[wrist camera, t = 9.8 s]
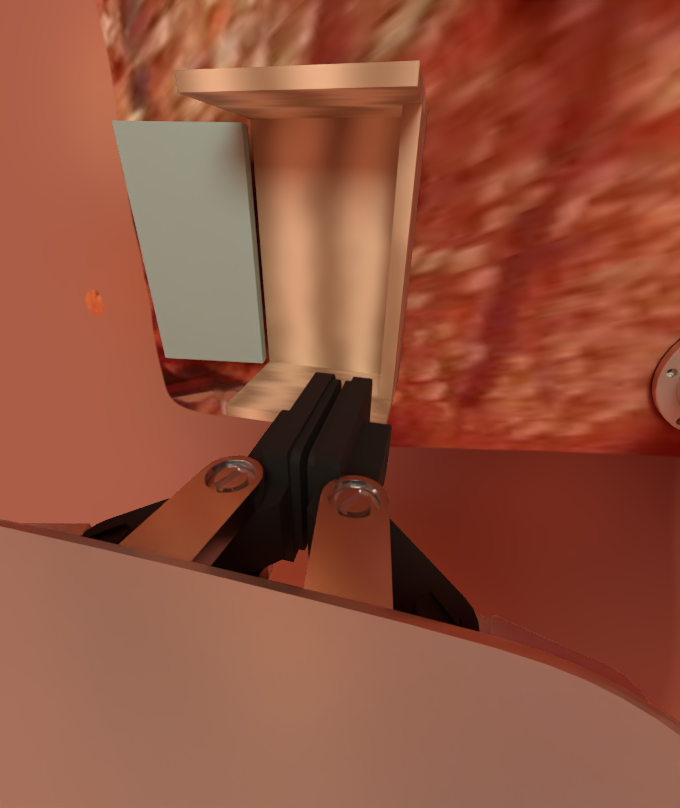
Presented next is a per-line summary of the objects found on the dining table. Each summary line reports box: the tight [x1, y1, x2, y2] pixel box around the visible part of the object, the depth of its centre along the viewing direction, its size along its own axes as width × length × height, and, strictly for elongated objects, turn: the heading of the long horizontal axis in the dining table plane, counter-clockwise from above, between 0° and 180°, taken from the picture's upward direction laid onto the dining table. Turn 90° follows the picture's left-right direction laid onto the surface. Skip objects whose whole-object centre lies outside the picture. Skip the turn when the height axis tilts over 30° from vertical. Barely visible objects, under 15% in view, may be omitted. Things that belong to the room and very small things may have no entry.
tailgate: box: [112, 121, 267, 363], centre depth 36 cm, size 2×21×11 cm
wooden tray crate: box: [174, 61, 428, 424], centre depth 32 cm, size 14×23×13 cm, turn 179°
